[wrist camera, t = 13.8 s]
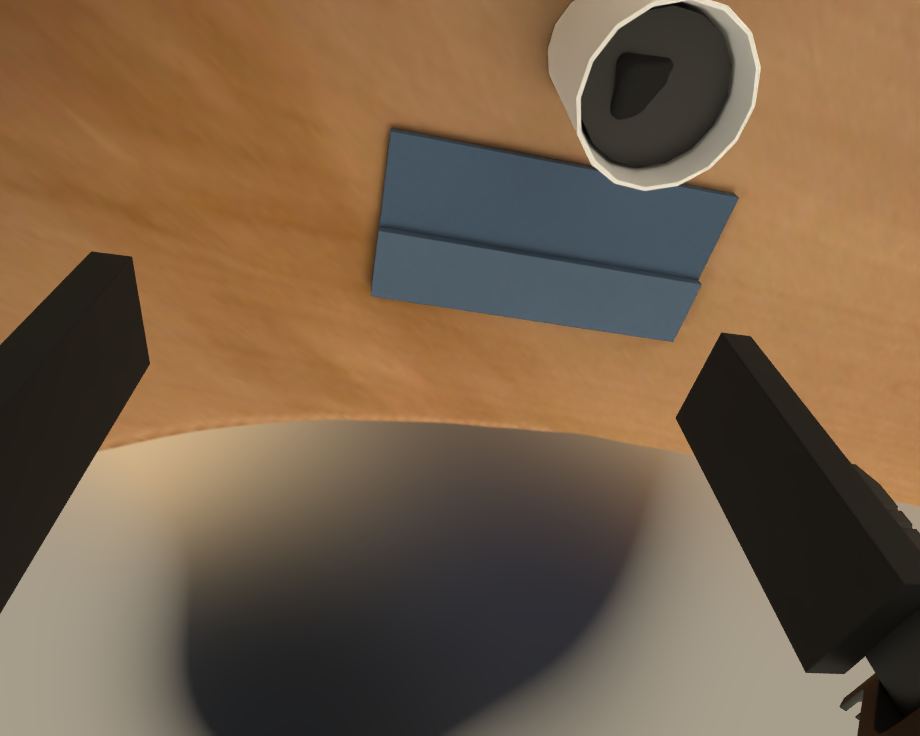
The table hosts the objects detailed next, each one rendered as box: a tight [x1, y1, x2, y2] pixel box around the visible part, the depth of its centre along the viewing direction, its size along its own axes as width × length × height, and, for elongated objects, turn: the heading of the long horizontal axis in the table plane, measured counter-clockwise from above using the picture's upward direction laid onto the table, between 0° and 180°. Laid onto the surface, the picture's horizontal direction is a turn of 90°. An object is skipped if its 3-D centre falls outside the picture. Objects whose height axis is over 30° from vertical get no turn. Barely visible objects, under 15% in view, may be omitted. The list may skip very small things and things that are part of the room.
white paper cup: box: [548, 0, 761, 191], centre depth 25 cm, size 7×7×10 cm
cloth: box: [371, 128, 739, 342], centre depth 35 cm, size 20×10×1 cm, turn 79°
